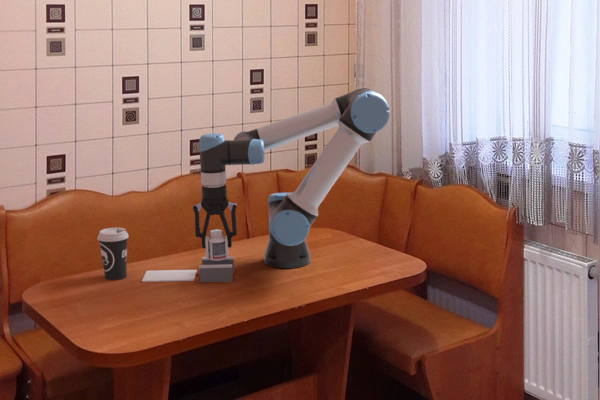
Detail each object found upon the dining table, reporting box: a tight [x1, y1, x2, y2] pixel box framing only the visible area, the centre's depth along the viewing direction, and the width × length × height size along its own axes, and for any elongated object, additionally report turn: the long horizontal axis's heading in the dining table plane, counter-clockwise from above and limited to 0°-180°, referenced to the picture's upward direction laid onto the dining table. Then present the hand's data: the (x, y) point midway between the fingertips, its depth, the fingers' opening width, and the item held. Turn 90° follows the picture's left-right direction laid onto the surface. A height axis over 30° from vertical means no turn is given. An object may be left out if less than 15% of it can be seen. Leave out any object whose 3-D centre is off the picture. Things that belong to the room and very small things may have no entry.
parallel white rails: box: [198, 255, 235, 283], centre depth 264 cm, size 10×10×5 cm
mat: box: [141, 269, 198, 283], centre depth 266 cm, size 16×10×1 cm, turn 91°
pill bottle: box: [208, 229, 226, 261], centre depth 262 cm, size 5×5×9 cm
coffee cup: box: [97, 227, 129, 281], centre depth 264 cm, size 10×10×15 cm
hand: (217, 257), depth 263 cm, fingers closed on pill bottle, 5 cm apart
